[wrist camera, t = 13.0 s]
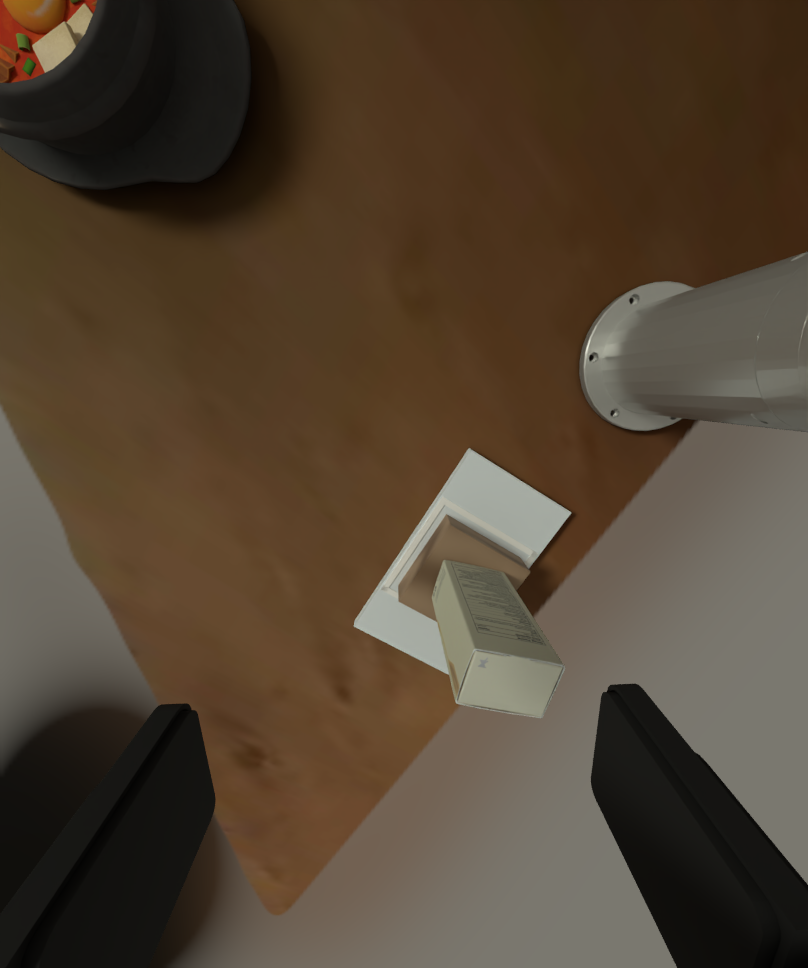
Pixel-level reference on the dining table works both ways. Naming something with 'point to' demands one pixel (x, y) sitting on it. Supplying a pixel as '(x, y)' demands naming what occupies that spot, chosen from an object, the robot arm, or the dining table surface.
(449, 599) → the skincare box
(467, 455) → the white board
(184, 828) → the robot arm
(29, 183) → the dining table surface
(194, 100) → the casserole
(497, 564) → the walnut plinth
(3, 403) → the dining table surface
